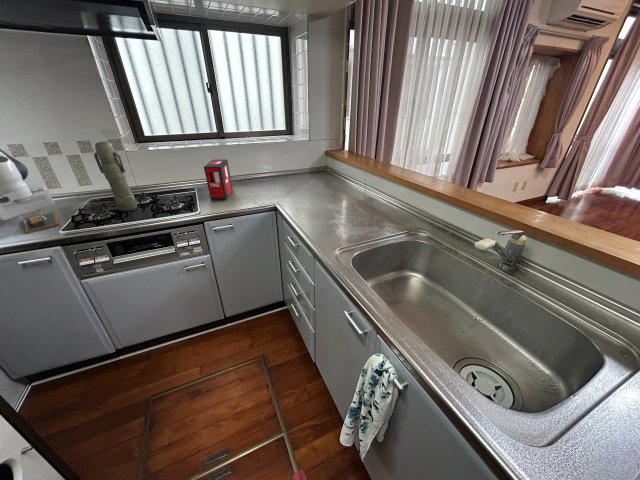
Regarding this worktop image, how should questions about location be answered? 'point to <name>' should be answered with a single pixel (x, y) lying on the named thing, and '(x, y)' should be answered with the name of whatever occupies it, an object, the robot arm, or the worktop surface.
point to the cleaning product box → (218, 179)
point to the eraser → (34, 220)
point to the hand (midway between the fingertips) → (34, 220)
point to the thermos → (115, 175)
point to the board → (49, 222)
